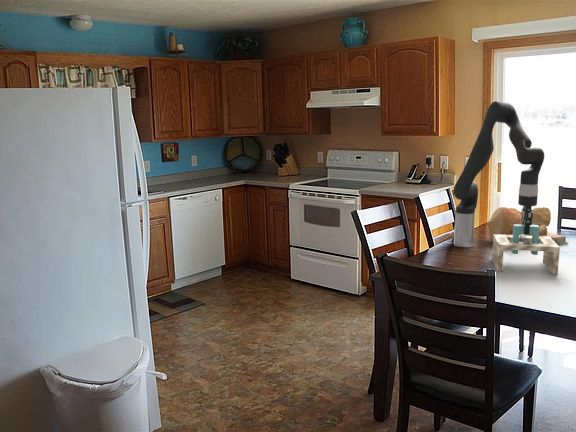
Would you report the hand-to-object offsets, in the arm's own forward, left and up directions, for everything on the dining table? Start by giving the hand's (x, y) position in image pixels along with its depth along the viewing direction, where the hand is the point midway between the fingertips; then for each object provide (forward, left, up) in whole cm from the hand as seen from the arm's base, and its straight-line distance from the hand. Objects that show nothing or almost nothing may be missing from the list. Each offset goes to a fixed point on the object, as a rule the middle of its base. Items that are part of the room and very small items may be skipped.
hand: (525, 232), depth 243 cm
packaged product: (+20, +53, -16) cm, 59 cm away
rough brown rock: (+14, +75, -16) cm, 78 cm away
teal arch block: (0, 0, -9) cm, 9 cm away
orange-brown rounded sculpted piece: (+3, +45, -16) cm, 47 cm away
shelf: (0, 0, -15) cm, 15 cm away
